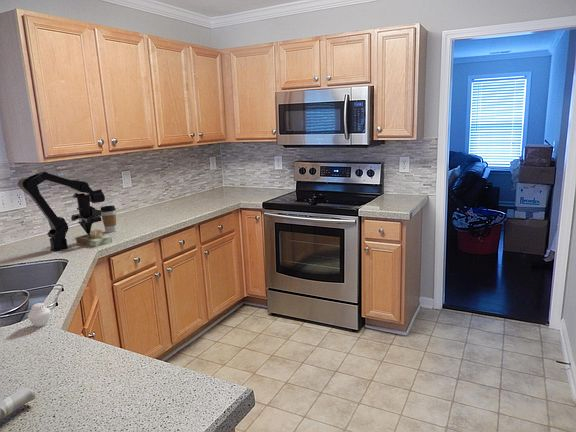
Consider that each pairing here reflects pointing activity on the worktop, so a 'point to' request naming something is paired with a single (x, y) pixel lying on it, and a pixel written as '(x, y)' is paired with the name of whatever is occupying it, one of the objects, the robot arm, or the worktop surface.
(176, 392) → the worktop surface
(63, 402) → the worktop surface
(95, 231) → the beech block
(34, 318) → the pale grey rounded lump
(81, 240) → the trap board
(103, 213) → the coffee cup
